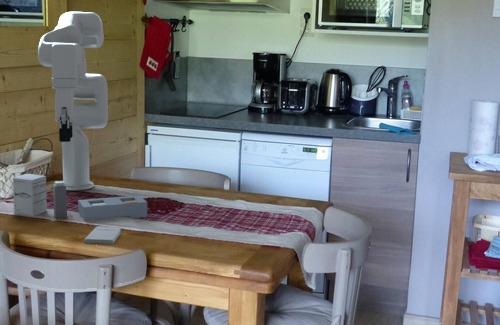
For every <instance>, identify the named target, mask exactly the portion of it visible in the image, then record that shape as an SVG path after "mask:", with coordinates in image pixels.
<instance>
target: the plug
mask: <svg viewBox="0 0 500 325" xmlns="http://www.w3.org/2000/svg"><path fill="white" fill-rule="evenodd" d="M52 188H53V189H52V190H53V191H52V192H53V193H52V194H53V214H54V216H55V218H66V217H67V212H68V208H67V207H68V202H67V200H68V199H67V196H68V195H67V190H66V185H65V184H64V182H63V180H60V181H59V180H55V181H54V183H53V184H52Z"/></svg>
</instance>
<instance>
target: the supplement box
mask: <svg viewBox="0 0 500 325" xmlns="http://www.w3.org/2000/svg"><path fill="white" fill-rule="evenodd" d="M12 184H13V185H12V186H13V192H12V193H13V213H14V215H20V216H21V215H22V216H27V217H35V216H38V215H40V214H42V213H44V212H47V211H48V208H47V176H46V175H42V174H41V175H40V174H32V173H24V174H21V175H17V176H14V177H12Z"/></svg>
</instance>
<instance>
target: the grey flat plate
mask: <svg viewBox="0 0 500 325" xmlns="http://www.w3.org/2000/svg"><path fill="white" fill-rule="evenodd" d="M46 216H47V217H48V219H49V220H50V221H51V222H54V221H55V222H56V221H68V220H75V218H74V216H73V214H72V213H71V212H70V211H67V217H66V218H55V216H54V213H46Z"/></svg>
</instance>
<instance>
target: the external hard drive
mask: <svg viewBox="0 0 500 325" xmlns="http://www.w3.org/2000/svg"><path fill="white" fill-rule="evenodd" d="M123 231H124V230H122V226H100V225H99V226H98V225H97V226H95V228H93V230H92V231H91V232H90V233H89V234H88V235H87V236H86V237H85V238H84V240H83V242H84V243H85V244H106V245H107V244H114V243H116V241H117V239H118V238H119V237H120V235H121V234H122V233H123Z"/></svg>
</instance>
